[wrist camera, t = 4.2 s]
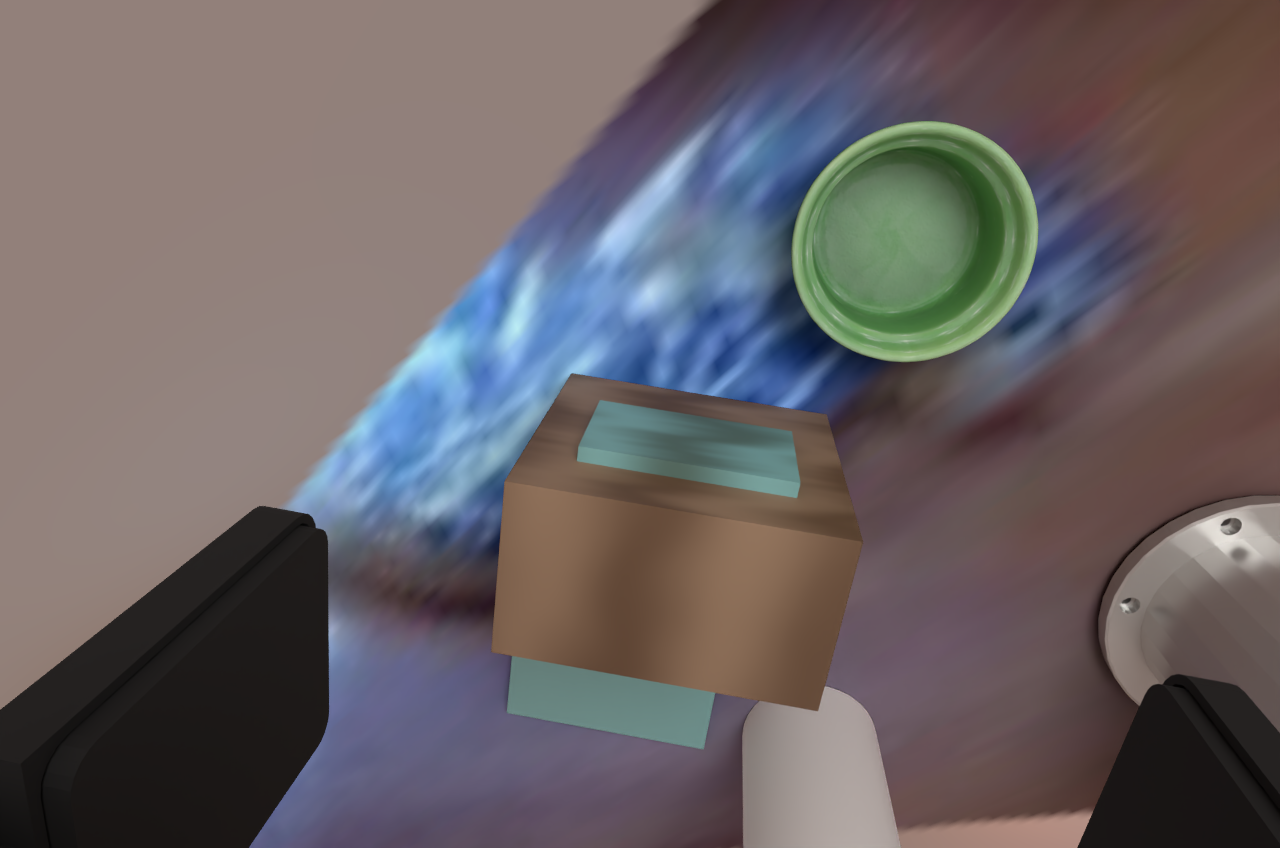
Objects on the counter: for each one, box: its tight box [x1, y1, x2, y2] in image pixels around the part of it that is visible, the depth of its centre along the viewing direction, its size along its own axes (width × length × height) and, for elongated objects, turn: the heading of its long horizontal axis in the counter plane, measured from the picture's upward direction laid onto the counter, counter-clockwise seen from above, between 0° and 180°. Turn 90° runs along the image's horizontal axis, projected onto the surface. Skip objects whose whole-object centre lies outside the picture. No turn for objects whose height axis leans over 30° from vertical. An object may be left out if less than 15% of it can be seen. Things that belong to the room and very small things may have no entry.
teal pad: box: [507, 656, 715, 749], centre depth 44 cm, size 11×11×1 cm
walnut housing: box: [491, 374, 863, 711], centre depth 34 cm, size 12×8×12 cm, turn 82°
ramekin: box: [791, 121, 1038, 362], centre depth 33 cm, size 9×9×4 cm
